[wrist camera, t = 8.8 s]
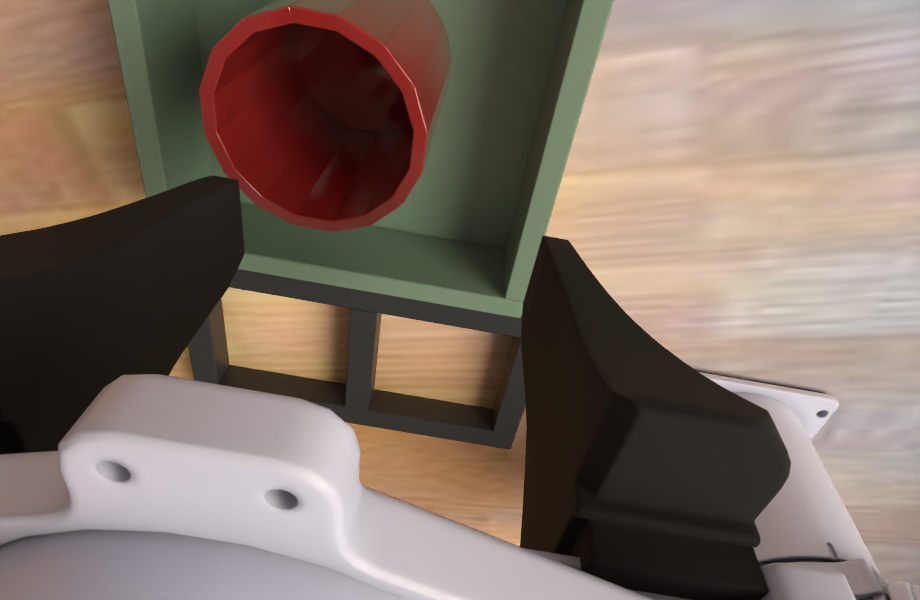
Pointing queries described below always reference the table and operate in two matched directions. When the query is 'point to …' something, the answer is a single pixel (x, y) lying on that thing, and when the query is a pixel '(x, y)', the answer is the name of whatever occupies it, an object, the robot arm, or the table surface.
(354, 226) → the cup
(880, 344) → the table surface
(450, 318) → the frame
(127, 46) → the basin
